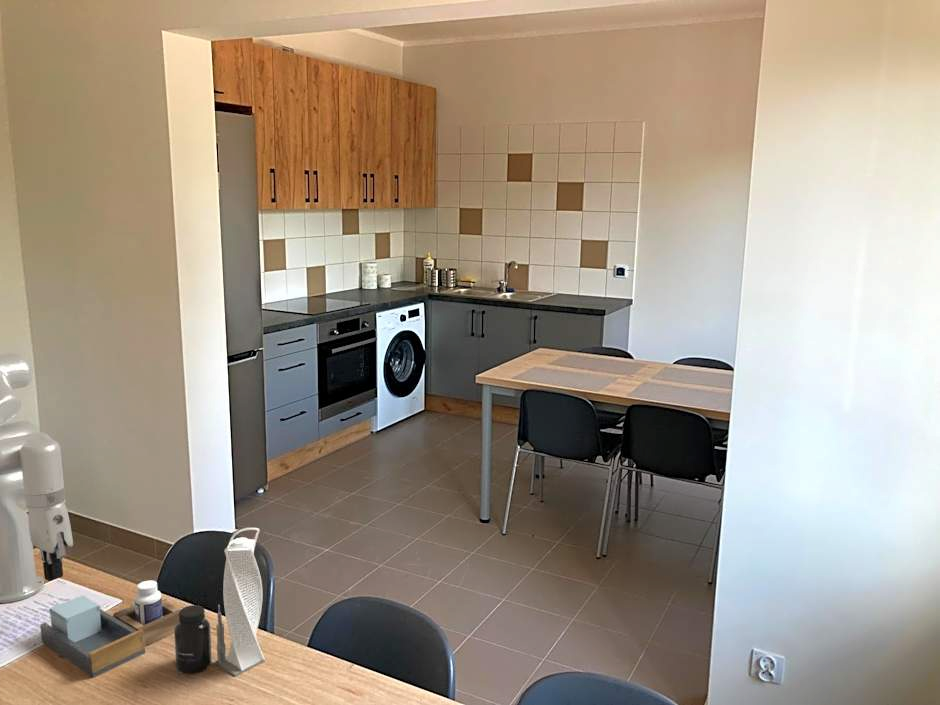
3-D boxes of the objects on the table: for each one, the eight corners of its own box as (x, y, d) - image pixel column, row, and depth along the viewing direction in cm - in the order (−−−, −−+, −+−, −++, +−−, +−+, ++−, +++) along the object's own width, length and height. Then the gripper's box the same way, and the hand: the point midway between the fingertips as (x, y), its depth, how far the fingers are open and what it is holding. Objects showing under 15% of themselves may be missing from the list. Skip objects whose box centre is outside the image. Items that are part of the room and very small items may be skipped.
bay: (42, 641, 163) (39, 620, 162) (92, 620, 172) (91, 599, 171) (93, 677, 151) (91, 654, 150) (145, 652, 159) (143, 630, 158)
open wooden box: (106, 626, 169) (105, 609, 168) (148, 608, 177) (147, 592, 176) (142, 648, 161) (140, 630, 160) (184, 628, 169) (183, 611, 168)
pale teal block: (51, 634, 164) (49, 608, 163) (85, 620, 170) (82, 595, 169) (68, 645, 160) (66, 619, 159) (102, 630, 165) (100, 605, 164)
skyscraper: (251, 645, 162) (245, 520, 157) (274, 660, 157) (269, 531, 152) (215, 663, 156) (208, 533, 151) (238, 678, 151) (232, 545, 146)
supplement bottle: (178, 679, 151) (175, 622, 148) (174, 661, 156) (170, 606, 154) (214, 669, 154) (211, 614, 152) (209, 652, 160) (206, 599, 157)
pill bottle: (167, 620, 170) (165, 579, 168) (155, 633, 165) (152, 591, 163) (144, 618, 171) (141, 577, 169) (131, 631, 165) (128, 589, 164)
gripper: (80, 499, 163) (88, 580, 166) (46, 486, 172) (55, 563, 175) (43, 510, 157) (53, 594, 160) (11, 496, 166) (20, 575, 169)
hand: (54, 577), depth 168 cm, fingers closed
